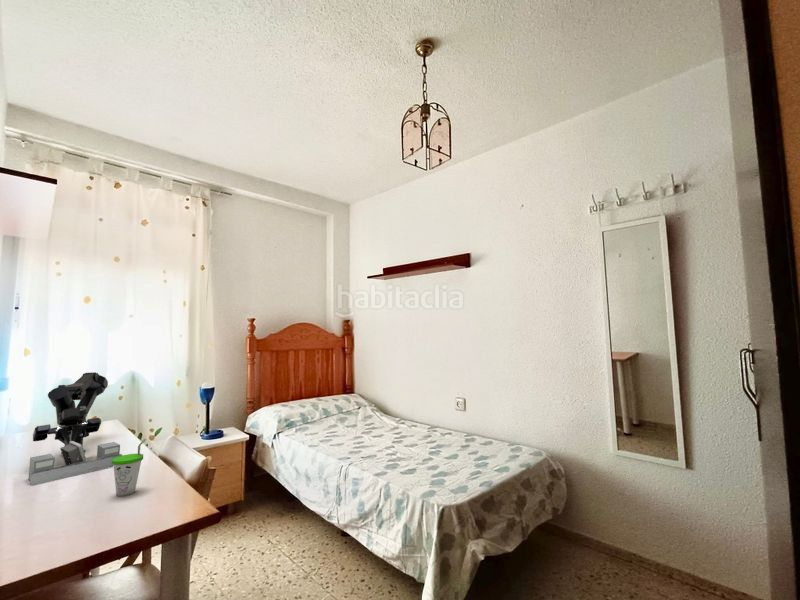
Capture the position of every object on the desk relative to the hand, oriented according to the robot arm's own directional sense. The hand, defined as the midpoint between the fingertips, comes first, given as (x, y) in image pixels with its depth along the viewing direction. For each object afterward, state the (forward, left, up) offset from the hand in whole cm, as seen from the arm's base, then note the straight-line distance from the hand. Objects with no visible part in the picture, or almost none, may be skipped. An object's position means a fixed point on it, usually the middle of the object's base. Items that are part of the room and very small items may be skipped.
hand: (70, 447), depth 136 cm
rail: (+13, 0, -7) cm, 14 cm away
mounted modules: (+8, 0, -7) cm, 11 cm away
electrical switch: (+4, +1, -7) cm, 8 cm away
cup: (+46, +4, -7) cm, 47 cm away
